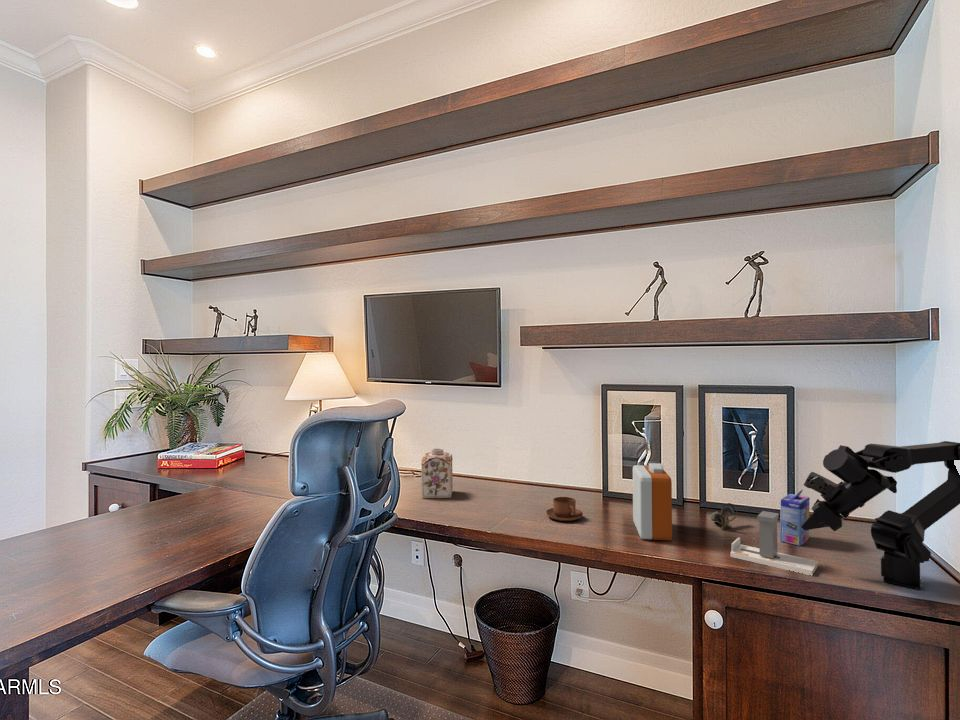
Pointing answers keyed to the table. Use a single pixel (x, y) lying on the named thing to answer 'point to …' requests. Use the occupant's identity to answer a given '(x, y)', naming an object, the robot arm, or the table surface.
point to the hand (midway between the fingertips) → (802, 528)
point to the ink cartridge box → (794, 519)
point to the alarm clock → (652, 502)
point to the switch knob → (768, 534)
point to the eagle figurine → (724, 515)
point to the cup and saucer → (564, 509)
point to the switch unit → (778, 561)
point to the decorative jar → (436, 474)
